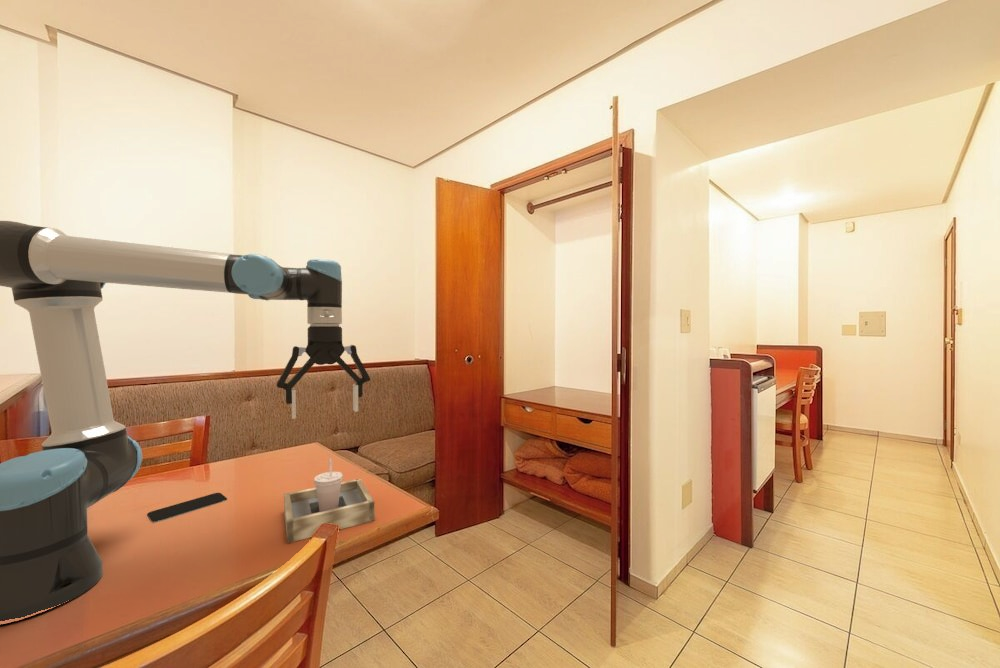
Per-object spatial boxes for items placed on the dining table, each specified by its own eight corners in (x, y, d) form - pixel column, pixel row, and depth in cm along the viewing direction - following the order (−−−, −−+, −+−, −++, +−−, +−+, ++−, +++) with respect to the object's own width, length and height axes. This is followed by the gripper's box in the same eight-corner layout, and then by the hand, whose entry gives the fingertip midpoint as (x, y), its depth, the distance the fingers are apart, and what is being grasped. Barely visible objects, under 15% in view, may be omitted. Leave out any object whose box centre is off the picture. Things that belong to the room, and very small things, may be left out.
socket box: (287, 543, 80) (286, 522, 80) (284, 512, 94) (283, 494, 94) (374, 520, 90) (374, 501, 90) (360, 494, 103) (360, 478, 103)
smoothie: (334, 523, 88) (334, 463, 88) (308, 522, 89) (307, 462, 89) (348, 510, 95) (347, 454, 94) (323, 509, 95) (323, 453, 95)
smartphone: (228, 499, 101) (152, 522, 89) (228, 501, 101) (153, 525, 89) (219, 491, 105) (146, 512, 93) (219, 494, 105) (146, 515, 93)
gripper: (263, 325, 81) (264, 424, 82) (381, 325, 94) (382, 410, 95) (263, 325, 88) (265, 417, 88) (374, 325, 101) (375, 405, 101)
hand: (325, 414), depth 91 cm, fingers open, 13 cm apart
